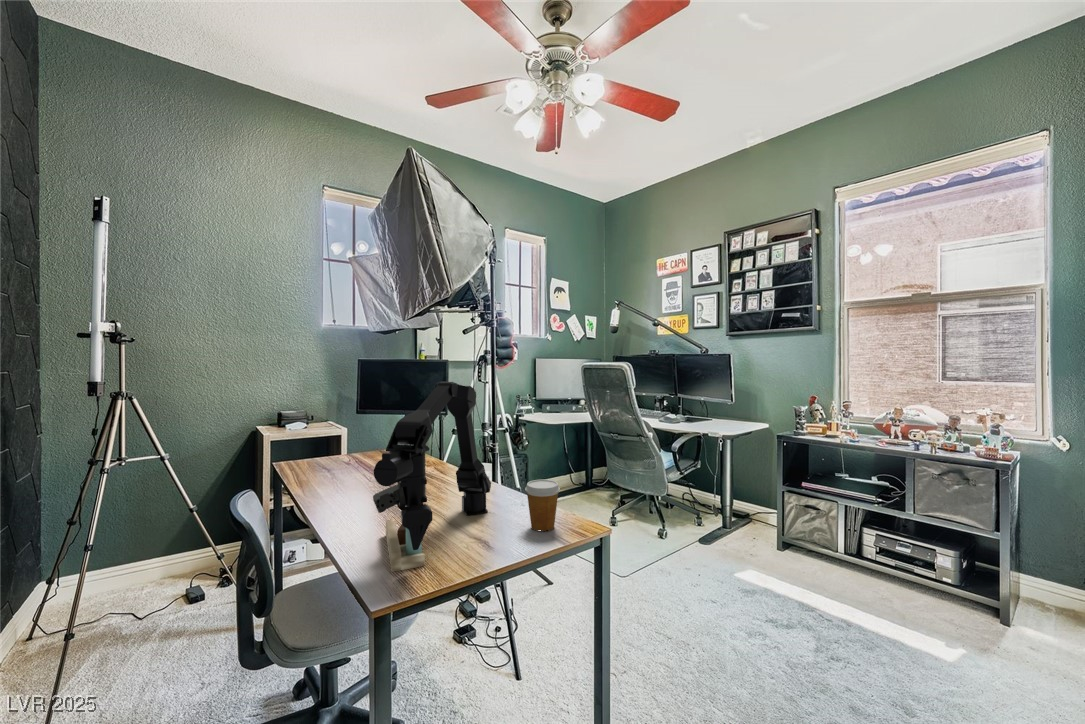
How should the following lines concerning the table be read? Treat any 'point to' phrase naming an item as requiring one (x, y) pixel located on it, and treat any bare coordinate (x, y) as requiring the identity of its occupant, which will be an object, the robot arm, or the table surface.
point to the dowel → (409, 545)
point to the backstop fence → (400, 551)
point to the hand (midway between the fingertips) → (413, 541)
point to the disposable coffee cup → (542, 503)
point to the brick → (401, 535)
